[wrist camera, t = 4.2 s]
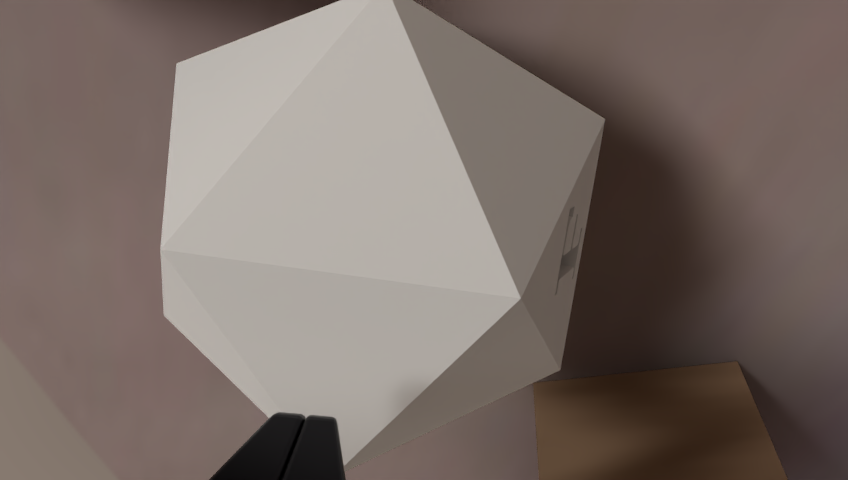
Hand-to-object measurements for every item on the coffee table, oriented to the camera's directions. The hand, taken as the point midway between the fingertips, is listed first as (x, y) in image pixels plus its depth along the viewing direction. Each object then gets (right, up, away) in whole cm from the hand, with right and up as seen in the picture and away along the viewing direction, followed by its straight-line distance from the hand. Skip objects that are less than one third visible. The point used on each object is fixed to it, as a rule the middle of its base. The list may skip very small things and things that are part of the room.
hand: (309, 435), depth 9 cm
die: (+1, +5, +8) cm, 10 cm away
